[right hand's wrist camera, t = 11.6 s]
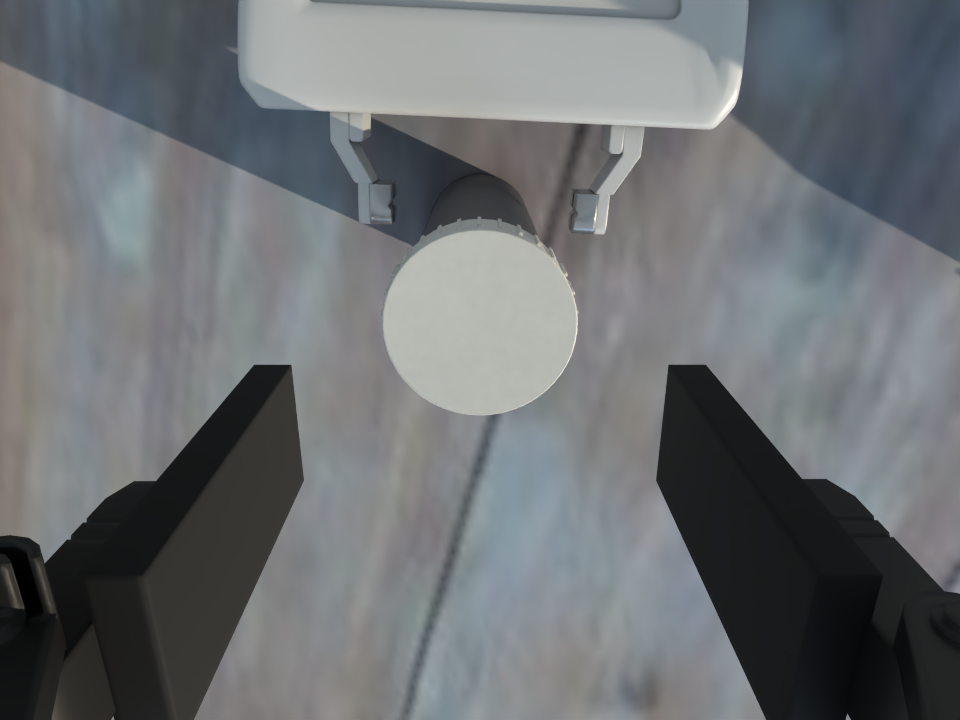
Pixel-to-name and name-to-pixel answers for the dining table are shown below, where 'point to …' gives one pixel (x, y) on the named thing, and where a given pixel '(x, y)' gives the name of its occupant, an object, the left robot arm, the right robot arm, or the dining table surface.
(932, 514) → the dining table surface
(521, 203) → the jar
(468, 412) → the lid
